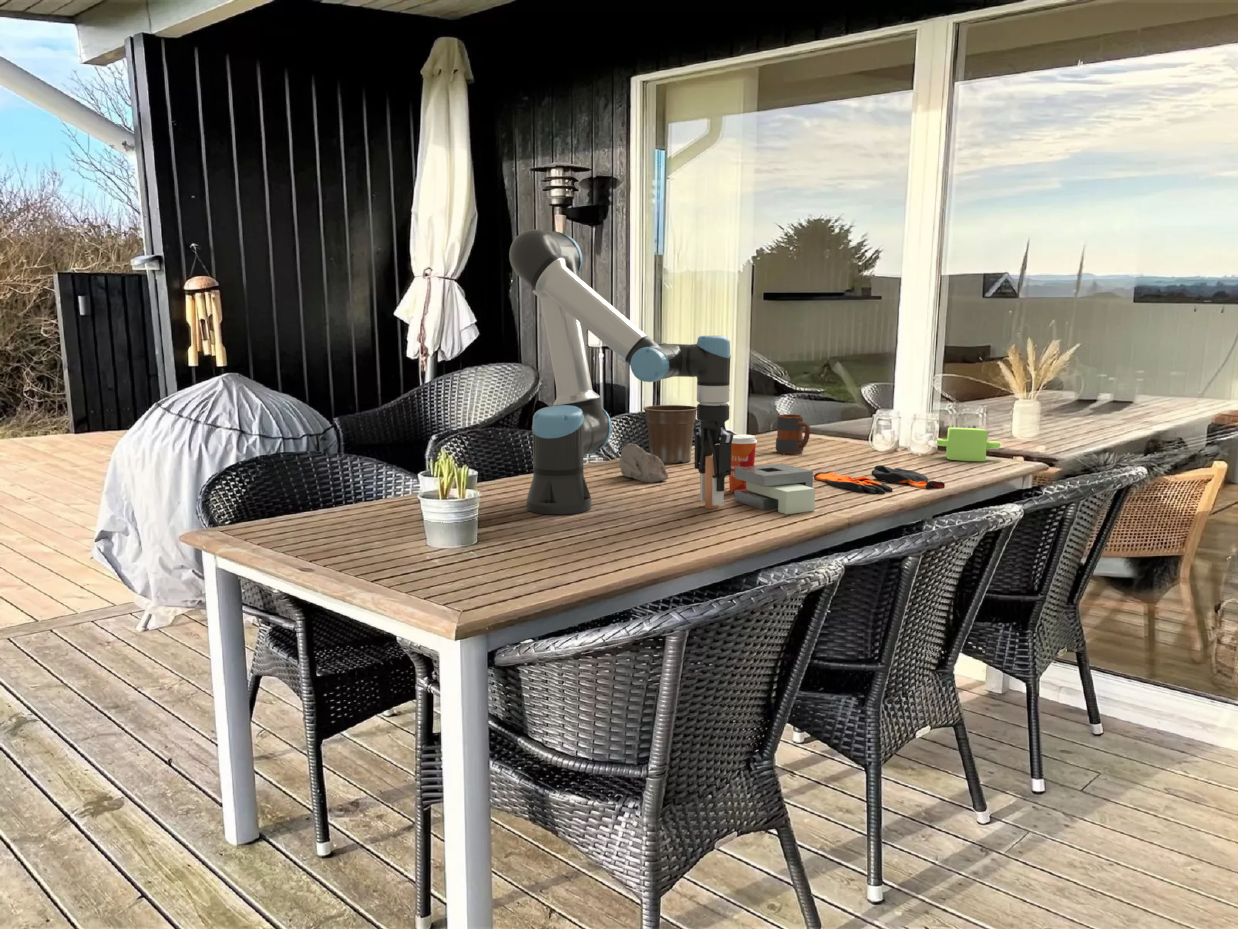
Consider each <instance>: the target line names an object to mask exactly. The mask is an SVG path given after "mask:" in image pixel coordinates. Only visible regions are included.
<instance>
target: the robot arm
mask: <svg viewBox="0 0 1238 929" xmlns="http://www.w3.org/2000/svg"><path fill="white" fill-rule="evenodd" d="M508 253H509V254H508V255H509V263H510V266H511V268H512V270H513V271H514V273H515V274H516V275H517V276H518V277H519V278H520V279H522V281H524V282H525V283H526V284H527V285H528V286H530V287H531V290H532V294H534V295H535V296H537V297H538V298H539V300H540V301H539V302H540V305H541V310H542V316H543V322H544V328H545V332H546V337H547V344H548V350H549V355H550V360H551V361H550V362H551V365H552V371H553V378H554V383H555V388H556V393H557V397H556V399H555V401H554V402H553V403H552V406H546V407H542V408H540V409H538V410H537V411H536V412H534V414H533V416H532V425H531V431H532V460H533V461H532V463H533V464H532V465H533V477H532V479H531V483H530V487H529V489H528V490H529V491H528V492H527V497H526V510H527V511H529V512H531V513H536V514H543V515H569V514H570V515H572V514H573V515H574V514H577V513H579V514H580V513H583V512H587V511H589V510H591V509H592V496H591V493H590V490H589V488H588V484H587V482H586V478H585V474H584V456H586V455H591V454H595V453H597V452H598V451H600V449H602V448H603V447H604V446H605V445H607V443H608V441H609V439H610V438H611V435H612V430H613V429H612V428H613V424H612V419H611V417H610V415H609V413H608V411H607V410H605V409H604V408H603V406H602V401H601V397H600V395H599V394H598V393H597V392H595V391H594V390H593V385H592V380H591V375H590V374H591V373H590V369H589V364H588V363H589V362H588V356H587V350H586V346H585V341H584V340H585V339H584V336H583V329H582V326H583V327H584V328H585V329H587V330H588V331H589V332H590V333H592V334H593V335H594V336H595V337H596V338H597V339H599V340H600V341H601V342H602V343H603V344H604V345H605V346H607V348H609V349H610V350H611V351H612V352H614V353H615V355H617V356H619V357H620V358H621V359H622V360H623V361H624V362H625V363H626V364H628V365H629V366H630V370H631V372H632V374H633V376H634V377H635V378H636V379H638V380H639V381H642V382H643V383H644V382H646V383H656V382H659V381H662V380H663V379H669V378H673V377H684V378H686V377H688V378H689V377H691V378H694V377H695V378H696V401H697V403H698V404H697V405H696V407H697V410H696V419H697V420H698V421H700V424H699V425H700V426H699V427H694V429H693V436H694V437H693V438H694V469H695V470H698V473H699V485H700V487H699V488H700V490H699V497H700V498H699V500H700V501H701V502H705V461H706V456H713V464H714V473H715V475H714V476H712V505H719V506H721V505H725V504H724V503H725V502H724V500H725V499H724V498H725V496H724V495H725V479H726V477H727V476H728V477H729V475H731V444H732V439H733V435H734V434H733V433H730V432H727V428H726V422H727V421H729V420H730V404H728V403H729V402H730V390H731V389H730V385H731V384H730V382H731V380H730V379H731V378H730V377H731V358H732V355H731V342H730V341H731V340H730V338H729V337H728V336H726V335H700V336H698V337H697V341H696V343H692V344H686V343H684V344H683V343H665V342H661V343H657V342H656V341H655V340H653V339H652V338H650V337H649V336H648V335H647V334H646V333H645V332H644V331H642V330H641V328H639V327H638V326H637V325H636V324H634V322H632V321H631V320H630V319H628V317H626V316H625V315H624V314H623V313H622V312H620V311H619V310H618V309H617V308H616V307H615V306H614V305H612V304H611V303H610V302H609V301H607V300H606V299H605V298H604V297H602V296H601V295H600V293H598V291H596V290H594V289H593V288H592V287H591V286H590V285H588V284H587V282H586V281H584V280H582V279H581V278H580V276H579V272H580V271H581V269H582V266H583V253H582V251H581V248H580V246H579V244H578V242H576V241H575V239H574V238H572V237H571V236H570V235H569V234H568V235H567V234H565V233H564V232H563V233H562V232H561V231H555V230H554V231H553V230H552V231H550V230H549V231H548V230H541V229H536V228H535V229H527V230H524V231H522V232H520V233H518V235H517V236H516V237H515V238H514V239H513V241H512V243H511V245H510V248H509V252H508Z"/></svg>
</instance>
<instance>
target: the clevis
mask: <svg viewBox="0 0 1238 929" xmlns="http://www.w3.org/2000/svg"><path fill="white" fill-rule="evenodd" d="M735 478H736V479H739V480H743V481H746V482H749V483H753V484H756V485H760V486H763V487H766V486H775V485H784V484H793V483H797V484H800V485H804V486H808V487H811V488H814V486H813V484H814V483H813V482H814V481H813V480H814V471H813V470H810V469H806V468H802V467H798V466H794V465H791V464H786V463H773V464H763V465H761V464H760V465H754V466H750V467H740V468H735ZM733 499H734V501H735V502H738V503H741V504H744V505H746V506H750V507H752V508H753V507H754V508H756V509H759V510H762V511H767V510H775V509H778V499H774V498H771V497H768V496H765V495H761V494H758V493H755V492H752V491H748V490H746V489H743V490H735V493H734V498H733Z"/></svg>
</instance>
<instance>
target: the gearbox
mask: <svg viewBox="0 0 1238 929" xmlns="http://www.w3.org/2000/svg"><path fill="white" fill-rule="evenodd" d="M988 432H989V431H988V430H987V429H984V428H973V427H970V428H969V427H947V438H937V439H936V446H938V447H946V449H945V450H946V452H945V457H946V459H947V460H949V461H950V460H951V461H962V462H963V461H965V462H986V459H987V450H993V449H999V448H1000V447H1001V443H1000V441H995V440H994V441H993V440H990V441H989V440H988V434H989V433H988Z"/></svg>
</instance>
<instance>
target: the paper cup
mask: <svg viewBox="0 0 1238 929" xmlns="http://www.w3.org/2000/svg"><path fill="white" fill-rule="evenodd" d="M757 443H758V440H757V439H756V436H755V435H752V434H733V439H732V444H731V475H729V476H728V481H729V482H728V483H729V491H730V492H731V493H734V494H735V490H743V489H746V481H743V480H739V479H736V478H735V468H740V467H750V466H755V460H756V457H755V456H756V449H757V448H756V447H757V446H756V445H757Z"/></svg>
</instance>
